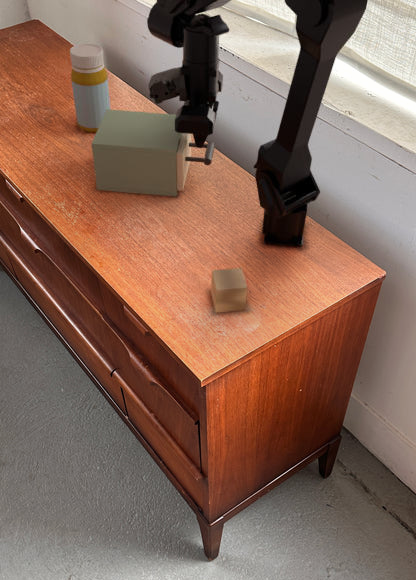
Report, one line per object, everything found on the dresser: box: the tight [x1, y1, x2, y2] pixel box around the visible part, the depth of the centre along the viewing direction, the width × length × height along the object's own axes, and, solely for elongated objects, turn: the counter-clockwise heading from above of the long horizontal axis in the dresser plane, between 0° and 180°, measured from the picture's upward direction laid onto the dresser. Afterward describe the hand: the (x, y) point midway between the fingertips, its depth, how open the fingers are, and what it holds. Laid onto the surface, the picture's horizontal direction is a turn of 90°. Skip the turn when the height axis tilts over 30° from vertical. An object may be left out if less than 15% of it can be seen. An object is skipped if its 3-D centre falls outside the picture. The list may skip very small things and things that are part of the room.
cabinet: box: [91, 109, 182, 197], centre depth 115 cm, size 15×13×9 cm
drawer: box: [176, 133, 216, 192], centre depth 114 cm, size 18×11×7 cm, turn 84°
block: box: [210, 267, 248, 314], centre depth 94 cm, size 4×4×4 cm
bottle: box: [69, 43, 112, 134], centre depth 124 cm, size 7×7×15 cm
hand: (199, 147), depth 112 cm, fingers closed
